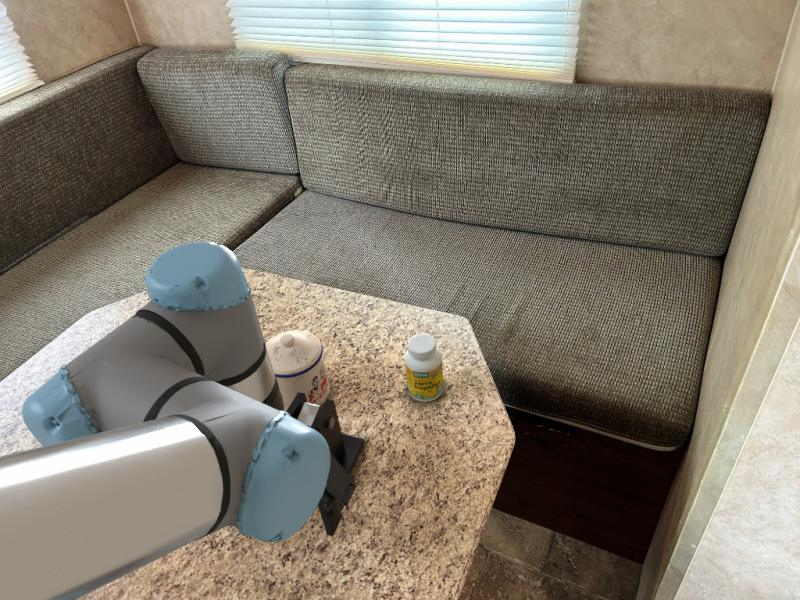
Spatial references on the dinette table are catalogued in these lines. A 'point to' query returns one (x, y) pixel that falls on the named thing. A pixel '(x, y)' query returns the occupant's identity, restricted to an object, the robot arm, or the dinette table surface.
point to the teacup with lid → (299, 366)
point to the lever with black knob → (308, 413)
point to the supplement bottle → (424, 368)
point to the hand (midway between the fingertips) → (283, 509)
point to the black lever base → (331, 432)
